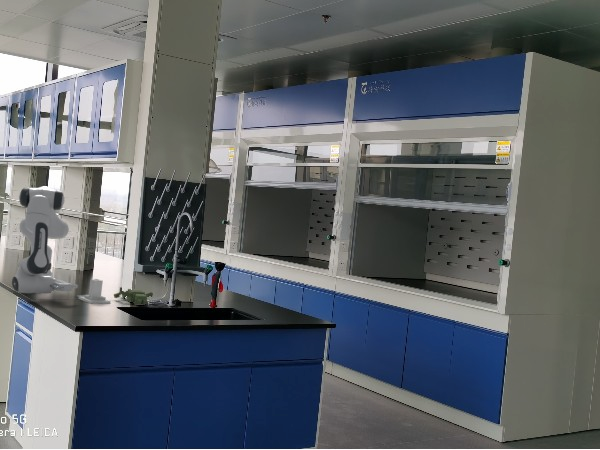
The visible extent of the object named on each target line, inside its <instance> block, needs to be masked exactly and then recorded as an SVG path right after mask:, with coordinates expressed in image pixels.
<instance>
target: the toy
mask: <svg viewBox="0 0 600 450" xmlns="http://www.w3.org/2000/svg"><path fill="white" fill-rule="evenodd" d="M153 293H154V292H153V291H150V292H147V293H145V291H143V290H142V289H141V290H131V288H127V290H125V291H122V286H120V287H119V292H116V293H113V297H114V298H115V299H118V298H120V296H122V299H123V298H125V297H126V296H127V297H126V301H127V302H128V301H129V302H128V303H130V302H135V303H134V305H135V304H147V305H148V301H149V300H148V298H147V297H149V296H151V297H152V298H153V296H154V294H153Z"/></svg>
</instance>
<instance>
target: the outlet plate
mask: <svg viewBox="0 0 600 450" xmlns="http://www.w3.org/2000/svg"><path fill="white" fill-rule="evenodd" d="M83 295H84V297H78V300H81V301H83V302H85V303H88V304H90V303H110V304H111V300H109V299H108V300H107V298H106V296H102V295H101V297H90V296H89V294H83Z"/></svg>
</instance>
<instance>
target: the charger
mask: <svg viewBox="0 0 600 450" xmlns="http://www.w3.org/2000/svg"><path fill="white" fill-rule="evenodd" d="M89 283H90V284H89V290H88V293H89V294H88V295H89V296H90V297H101V296H102V291H103V290H102V289H103V283H104V282H103V280H102V279H98V278H95V279H94V278H91V279H90V282H89Z"/></svg>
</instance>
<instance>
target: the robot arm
mask: <svg viewBox="0 0 600 450" xmlns="http://www.w3.org/2000/svg"><path fill="white" fill-rule="evenodd" d="M18 199H19V204H20V205H21V206H22V207H24V208H26V212H25V213H26V214H25V217H24V218H23V219H22V220H21V221H20V223H19V231H20V233H21V234H22V235H23V236H24V237H25V238H26V239H27V241H28V242H29V246H30V255H28V256H27V257H24V258H23V259H21V260H20V261H19V262H18V265H17V266H18V268H17V270H16V273H15V274H14V276H13V277H12V280H11V284H12V288H13V289H14V291H15V292H17V293H21V294H34V293H37V294H51V293H52V292H53V291H58V292H72V291H73V289H78V287H79V284H73V283H71V282H70V281H65V280H62V279H58V278H55V277H53V272H52V271H51V270H52V257H53V249H52V248H51V247H50V245H48V243H49V242H48V241H49V239H52V240H53V239H54V240H59V239H60V240H61V239H65V238H66V237H67V235H68V234H69V225H68V223H67V222H66V221H64V220H63V219H61V218H60V217H59V215H57V212H56V211H60V210H61V209H62V208H63V206H64V204H65V196H64V193H63V192H62V191H61V190H57V189H55V190H54V189H52V188H51V187H49V186H46V185H43V186H39V187H23V188H22V189H21V191H20V193H19V195H18Z"/></svg>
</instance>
